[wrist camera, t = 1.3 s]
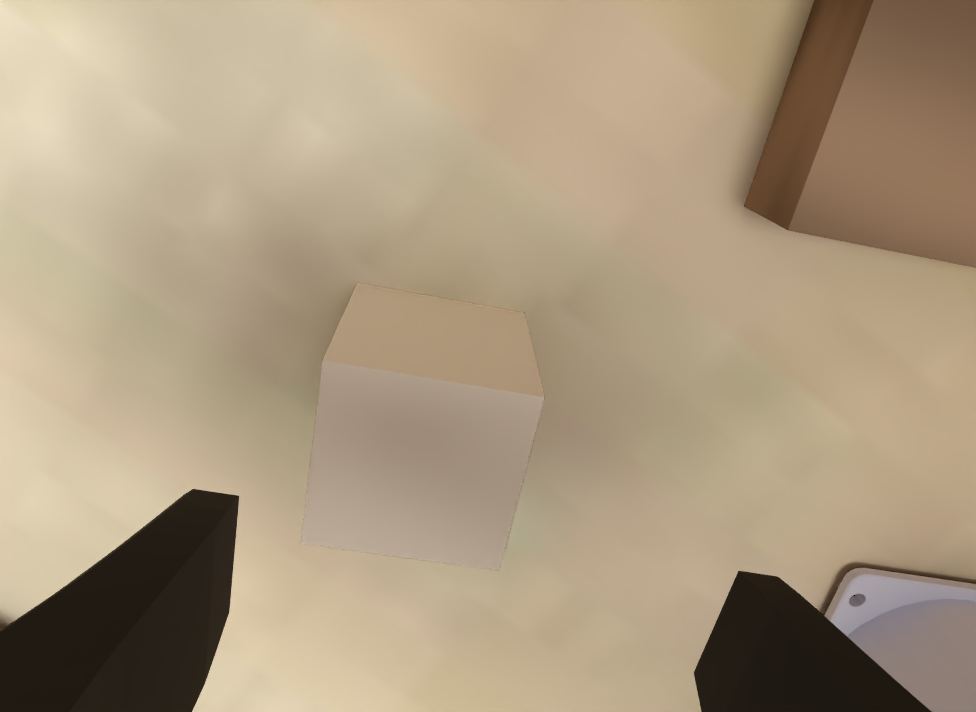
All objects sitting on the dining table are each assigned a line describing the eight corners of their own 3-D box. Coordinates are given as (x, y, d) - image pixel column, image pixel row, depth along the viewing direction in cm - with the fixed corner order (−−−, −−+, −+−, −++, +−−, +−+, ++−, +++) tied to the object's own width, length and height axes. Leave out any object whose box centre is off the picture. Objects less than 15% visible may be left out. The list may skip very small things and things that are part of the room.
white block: (490, 453, 20) (499, 570, 16) (337, 429, 20) (300, 543, 15) (524, 311, 19) (544, 397, 14) (357, 282, 18) (322, 360, 13)
